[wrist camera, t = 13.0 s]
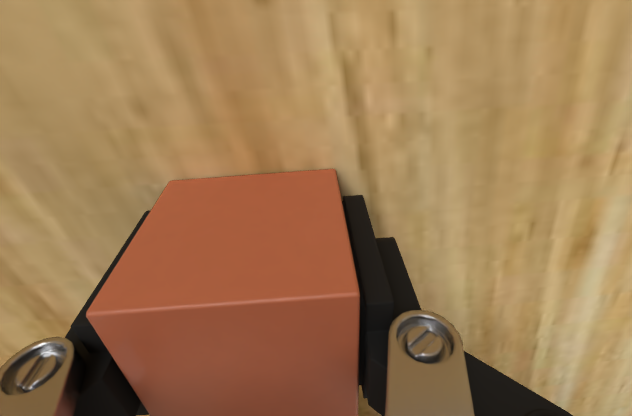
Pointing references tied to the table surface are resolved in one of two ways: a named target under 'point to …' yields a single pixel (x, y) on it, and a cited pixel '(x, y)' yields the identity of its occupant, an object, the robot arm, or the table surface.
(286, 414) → the block
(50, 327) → the table surface
